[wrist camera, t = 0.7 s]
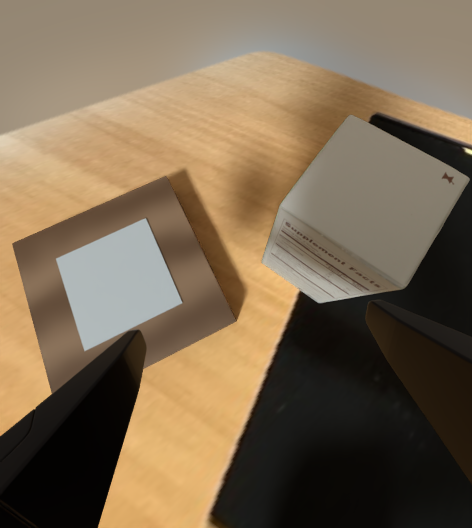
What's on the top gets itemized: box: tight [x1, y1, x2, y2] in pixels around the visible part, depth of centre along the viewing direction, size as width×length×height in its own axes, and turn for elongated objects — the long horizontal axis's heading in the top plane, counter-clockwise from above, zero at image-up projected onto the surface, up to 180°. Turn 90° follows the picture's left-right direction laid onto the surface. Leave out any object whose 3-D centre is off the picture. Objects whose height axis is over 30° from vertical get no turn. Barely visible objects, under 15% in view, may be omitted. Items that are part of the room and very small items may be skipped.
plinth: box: [12, 176, 237, 394], centre depth 22 cm, size 16×16×3 cm
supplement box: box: [261, 115, 469, 303], centre depth 18 cm, size 7×7×13 cm
